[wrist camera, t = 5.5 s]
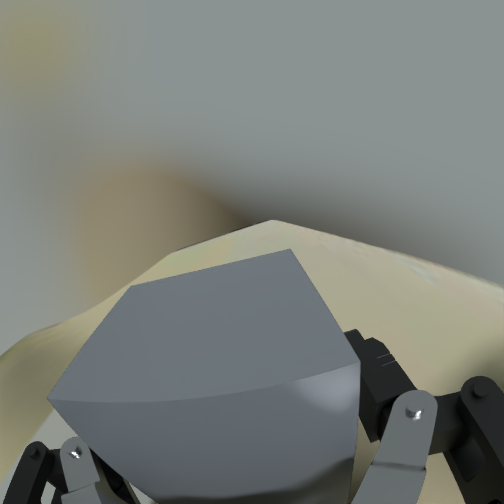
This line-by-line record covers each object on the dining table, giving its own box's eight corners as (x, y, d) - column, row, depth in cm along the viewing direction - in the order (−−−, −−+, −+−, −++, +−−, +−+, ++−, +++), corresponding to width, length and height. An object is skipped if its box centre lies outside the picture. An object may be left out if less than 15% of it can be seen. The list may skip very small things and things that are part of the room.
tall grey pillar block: (344, 513, 7) (360, 361, 4) (207, 531, 7) (46, 398, 4) (318, 422, 12) (290, 248, 9) (211, 440, 12) (130, 286, 9)
